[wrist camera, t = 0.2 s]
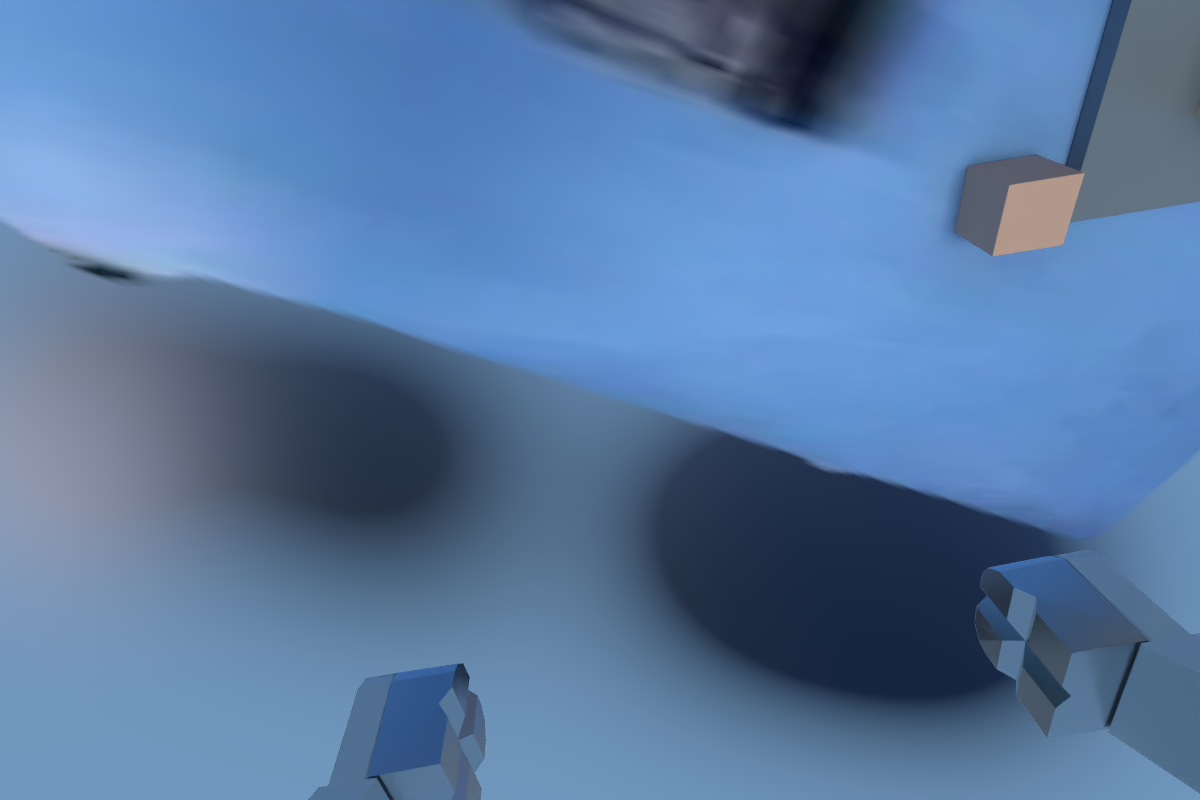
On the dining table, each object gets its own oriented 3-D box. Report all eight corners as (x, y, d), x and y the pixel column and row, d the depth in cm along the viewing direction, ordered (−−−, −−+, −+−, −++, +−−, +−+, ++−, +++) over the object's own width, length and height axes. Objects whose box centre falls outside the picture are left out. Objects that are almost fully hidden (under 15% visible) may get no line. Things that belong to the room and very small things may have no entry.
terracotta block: (966, 165, 45) (1009, 185, 41) (1035, 154, 45) (1084, 172, 41) (953, 231, 48) (992, 256, 44) (1018, 221, 48) (1062, 244, 44)
